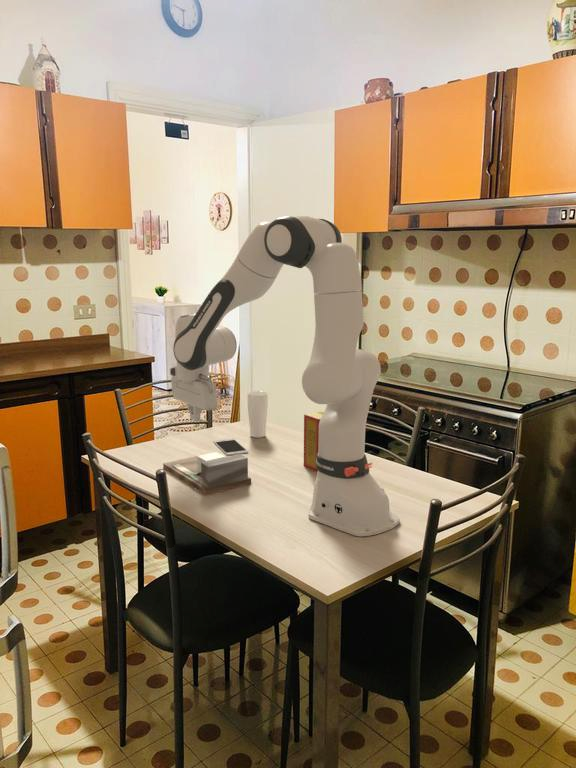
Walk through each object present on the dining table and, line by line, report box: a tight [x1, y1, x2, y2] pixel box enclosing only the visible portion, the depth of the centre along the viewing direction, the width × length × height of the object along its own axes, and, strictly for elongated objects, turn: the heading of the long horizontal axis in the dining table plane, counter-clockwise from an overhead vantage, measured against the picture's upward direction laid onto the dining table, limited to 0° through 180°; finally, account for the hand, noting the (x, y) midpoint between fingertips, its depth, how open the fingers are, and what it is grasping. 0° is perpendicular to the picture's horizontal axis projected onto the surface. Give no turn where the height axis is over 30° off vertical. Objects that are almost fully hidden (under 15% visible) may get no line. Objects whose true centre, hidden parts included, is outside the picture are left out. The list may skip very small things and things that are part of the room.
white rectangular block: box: [194, 451, 226, 476], centre depth 173 cm, size 5×8×5 cm, turn 126°
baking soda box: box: [303, 410, 325, 473], centre depth 184 cm, size 10×6×16 cm
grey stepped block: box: [162, 454, 252, 496], centre depth 176 cm, size 25×14×8 cm, turn 36°
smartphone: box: [212, 438, 249, 457], centre depth 202 cm, size 7×16×1 cm, turn 23°
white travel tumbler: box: [247, 390, 269, 439], centre depth 213 cm, size 7×7×15 cm
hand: (195, 419), depth 178 cm, fingers closed
